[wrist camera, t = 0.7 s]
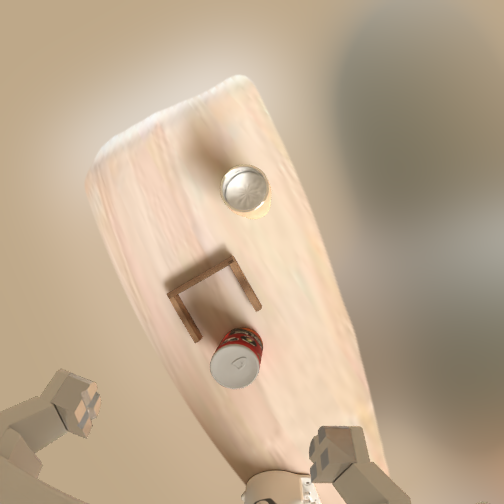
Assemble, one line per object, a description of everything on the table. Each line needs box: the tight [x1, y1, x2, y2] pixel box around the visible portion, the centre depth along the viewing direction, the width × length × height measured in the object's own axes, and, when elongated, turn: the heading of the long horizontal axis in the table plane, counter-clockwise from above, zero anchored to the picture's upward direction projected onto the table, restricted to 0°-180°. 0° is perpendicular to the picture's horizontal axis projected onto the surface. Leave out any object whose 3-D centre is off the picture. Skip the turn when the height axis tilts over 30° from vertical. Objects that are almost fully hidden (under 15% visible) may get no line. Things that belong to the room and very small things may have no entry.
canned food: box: [210, 328, 263, 389], centre depth 50 cm, size 8×8×11 cm
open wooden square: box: [167, 256, 262, 343], centre depth 54 cm, size 10×14×2 cm
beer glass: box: [220, 164, 272, 220], centre depth 47 cm, size 7×7×15 cm
